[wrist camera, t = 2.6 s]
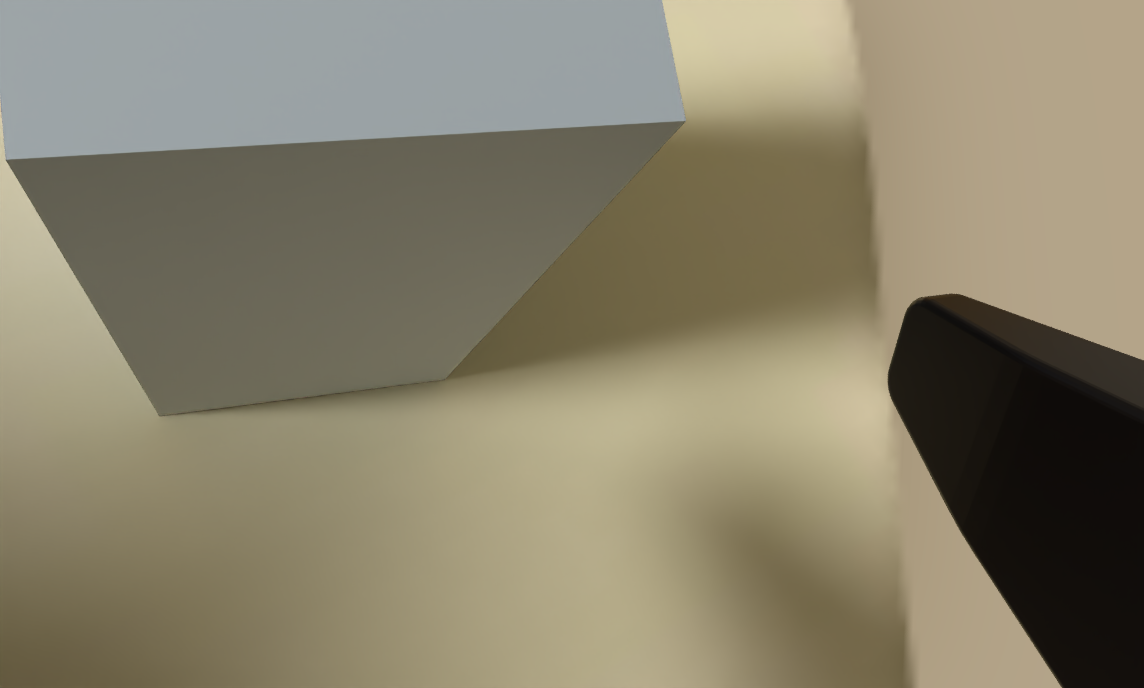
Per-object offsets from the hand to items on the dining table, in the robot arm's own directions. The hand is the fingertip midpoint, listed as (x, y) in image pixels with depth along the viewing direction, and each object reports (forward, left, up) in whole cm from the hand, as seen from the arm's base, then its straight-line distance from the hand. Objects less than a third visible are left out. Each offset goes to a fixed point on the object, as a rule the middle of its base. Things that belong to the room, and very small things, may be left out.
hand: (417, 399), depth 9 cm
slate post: (+4, 0, -11) cm, 12 cm away
